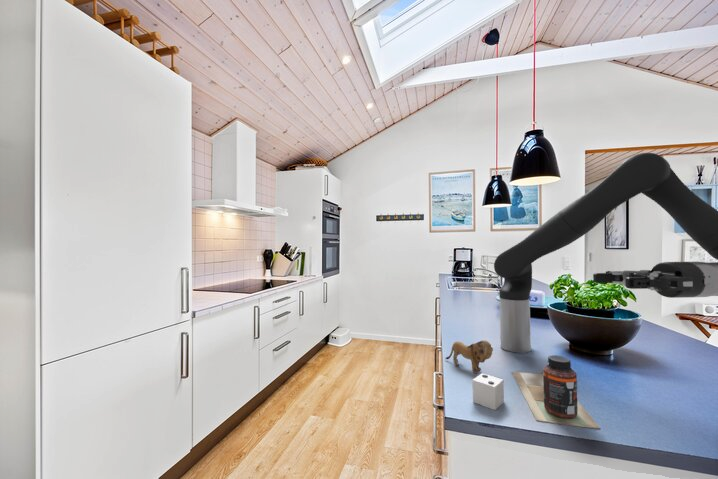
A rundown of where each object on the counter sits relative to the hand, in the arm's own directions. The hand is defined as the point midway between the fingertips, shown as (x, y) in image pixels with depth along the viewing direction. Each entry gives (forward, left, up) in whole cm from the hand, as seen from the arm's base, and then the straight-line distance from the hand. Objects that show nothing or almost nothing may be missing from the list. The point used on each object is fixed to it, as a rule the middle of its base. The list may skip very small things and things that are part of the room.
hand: (609, 280), depth 64 cm
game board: (+1, -12, -28) cm, 30 cm away
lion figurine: (-2, -33, -28) cm, 43 cm away
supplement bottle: (+8, -8, -28) cm, 30 cm away
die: (+14, -21, -28) cm, 37 cm away
